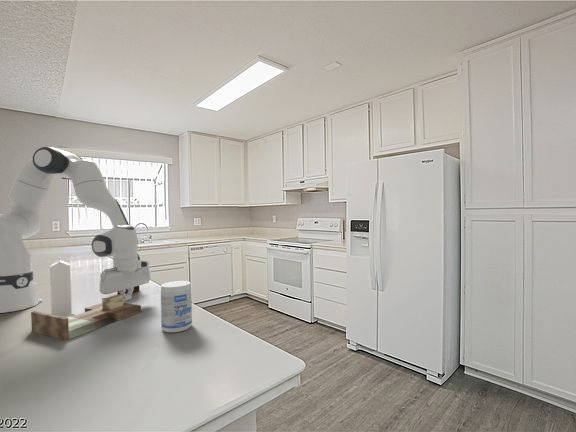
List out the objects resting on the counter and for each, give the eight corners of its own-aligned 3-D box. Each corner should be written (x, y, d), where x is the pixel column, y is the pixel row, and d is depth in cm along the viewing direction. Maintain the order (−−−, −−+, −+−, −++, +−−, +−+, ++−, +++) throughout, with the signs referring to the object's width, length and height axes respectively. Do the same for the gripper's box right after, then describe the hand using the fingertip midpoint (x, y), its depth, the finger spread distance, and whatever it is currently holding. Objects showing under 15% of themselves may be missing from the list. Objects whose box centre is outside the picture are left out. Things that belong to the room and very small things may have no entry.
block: (102, 308, 113) (102, 297, 113) (114, 304, 118) (114, 294, 118) (111, 309, 111) (110, 298, 111) (123, 305, 116) (123, 295, 116)
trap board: (31, 331, 98) (31, 312, 98) (109, 306, 123) (109, 290, 123) (65, 340, 91) (64, 319, 91) (141, 311, 115) (140, 295, 115)
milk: (51, 318, 110) (48, 259, 110) (52, 314, 115) (49, 257, 114) (72, 314, 114) (69, 257, 113) (71, 310, 119) (69, 255, 118)
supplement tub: (179, 335, 93) (178, 288, 93) (154, 332, 96) (153, 286, 95) (198, 323, 102) (196, 281, 102) (174, 321, 105) (173, 279, 105)
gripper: (106, 270, 109) (107, 308, 109) (152, 261, 128) (153, 293, 128) (94, 269, 111) (96, 306, 112) (141, 260, 130) (142, 292, 130)
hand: (126, 299), depth 120 cm, fingers closed
